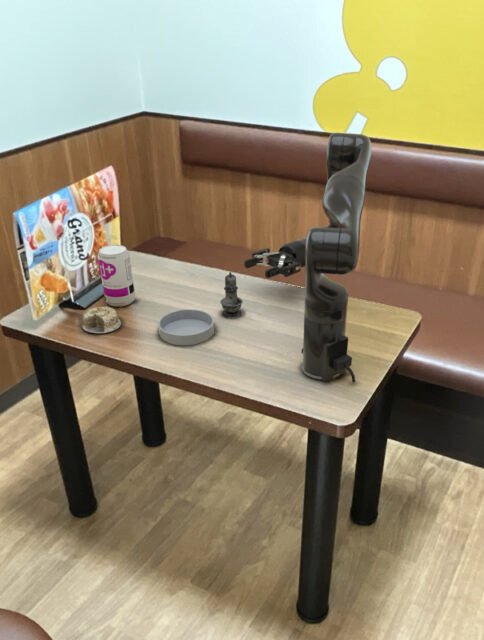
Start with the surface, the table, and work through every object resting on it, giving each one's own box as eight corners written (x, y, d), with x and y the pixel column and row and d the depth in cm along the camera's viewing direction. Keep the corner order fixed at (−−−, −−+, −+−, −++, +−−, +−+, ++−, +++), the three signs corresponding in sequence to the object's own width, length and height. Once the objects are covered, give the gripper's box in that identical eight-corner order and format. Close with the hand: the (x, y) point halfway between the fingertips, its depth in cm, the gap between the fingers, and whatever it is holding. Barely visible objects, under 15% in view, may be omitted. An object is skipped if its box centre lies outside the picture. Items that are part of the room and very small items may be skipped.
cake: (91, 316, 161) (88, 297, 159) (127, 320, 160) (125, 301, 158) (75, 332, 153) (72, 312, 150) (112, 336, 152) (110, 316, 149)
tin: (224, 334, 153) (224, 324, 151) (176, 351, 146) (175, 341, 144) (196, 313, 162) (195, 304, 160) (149, 328, 155) (148, 319, 153)
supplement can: (119, 310, 163) (111, 258, 155) (99, 302, 167) (90, 250, 159) (141, 299, 169) (135, 248, 160) (122, 291, 173) (114, 241, 164)
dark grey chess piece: (218, 310, 163) (216, 268, 157) (239, 307, 165) (238, 265, 158) (223, 320, 159) (221, 277, 152) (245, 316, 160) (244, 274, 154)
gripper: (282, 234, 172) (238, 248, 163) (318, 248, 163) (273, 264, 154) (282, 258, 176) (238, 274, 167) (317, 274, 167) (273, 291, 158)
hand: (255, 269), depth 161 cm, fingers open, 8 cm apart
